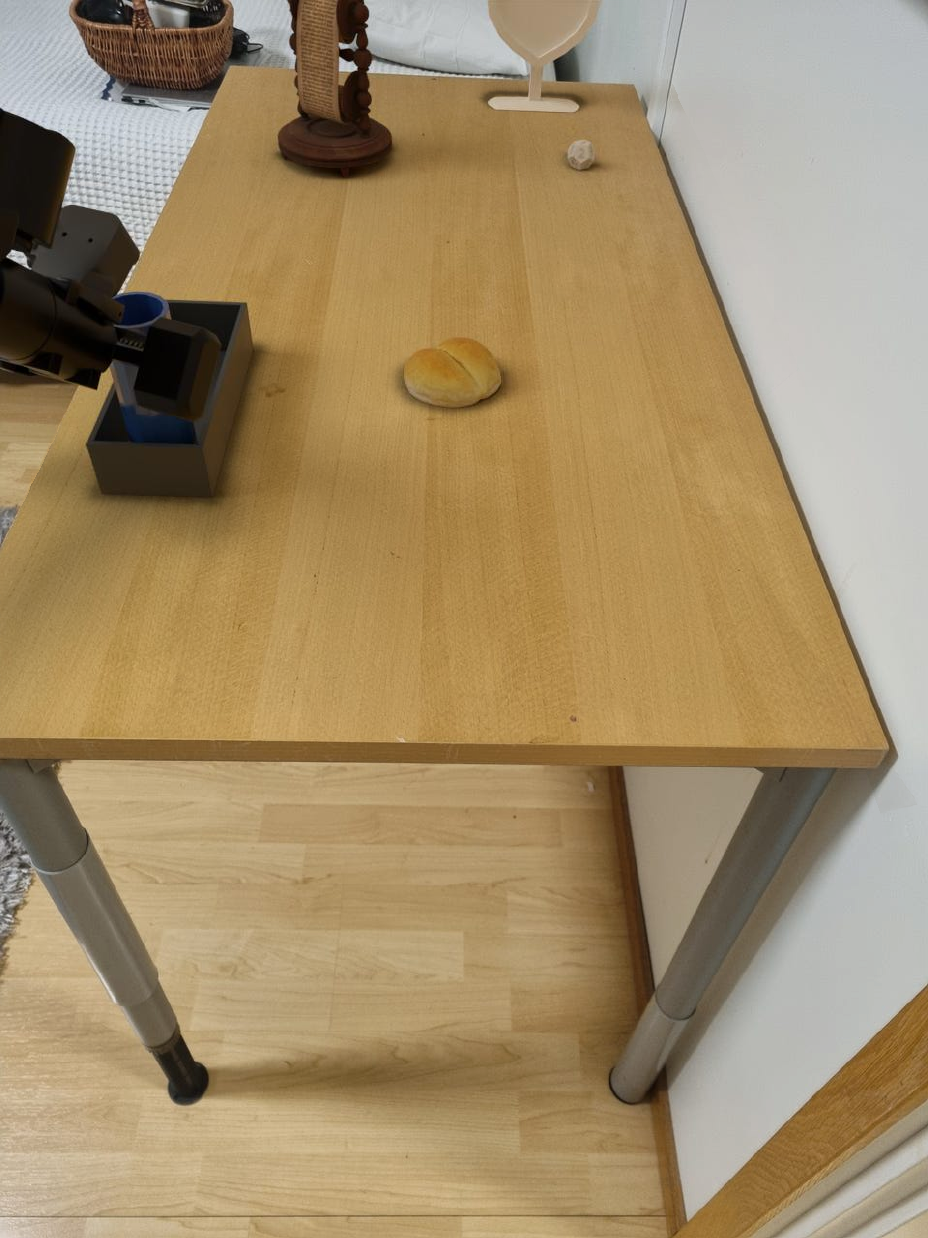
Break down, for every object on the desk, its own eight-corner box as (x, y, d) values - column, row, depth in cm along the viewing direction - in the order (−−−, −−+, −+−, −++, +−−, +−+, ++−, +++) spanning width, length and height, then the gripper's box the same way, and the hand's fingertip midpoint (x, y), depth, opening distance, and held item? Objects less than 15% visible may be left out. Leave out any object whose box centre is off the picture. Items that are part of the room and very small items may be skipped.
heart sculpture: (481, 108, 136) (489, -39, 123) (480, 96, 139) (487, -49, 126) (587, 112, 137) (606, -34, 123) (583, 100, 140) (601, -44, 127)
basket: (213, 502, 76) (202, 448, 72) (102, 498, 76) (85, 444, 72) (254, 353, 91) (246, 302, 87) (161, 350, 91) (149, 298, 87)
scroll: (256, 161, 121) (234, -21, 106) (322, 125, 130) (311, -48, 115) (351, 189, 116) (342, 4, 101) (413, 150, 125) (413, -26, 110)
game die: (560, 166, 124) (563, 142, 121) (577, 158, 125) (580, 134, 123) (581, 174, 122) (584, 150, 120) (598, 166, 124) (602, 142, 122)
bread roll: (388, 380, 89) (387, 342, 86) (464, 352, 93) (466, 316, 90) (437, 424, 85) (437, 386, 82) (515, 393, 88) (518, 356, 85)
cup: (174, 487, 77) (137, 335, 66) (124, 467, 78) (79, 315, 68) (213, 453, 80) (182, 302, 69) (164, 434, 81) (127, 284, 71)
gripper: (180, 215, 56) (286, 300, 71) (-75, 158, 59) (77, 250, 75) (132, 397, 56) (247, 443, 72) (-116, 329, 60) (43, 386, 75)
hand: (152, 375), depth 73 cm, fingers open, 9 cm apart
